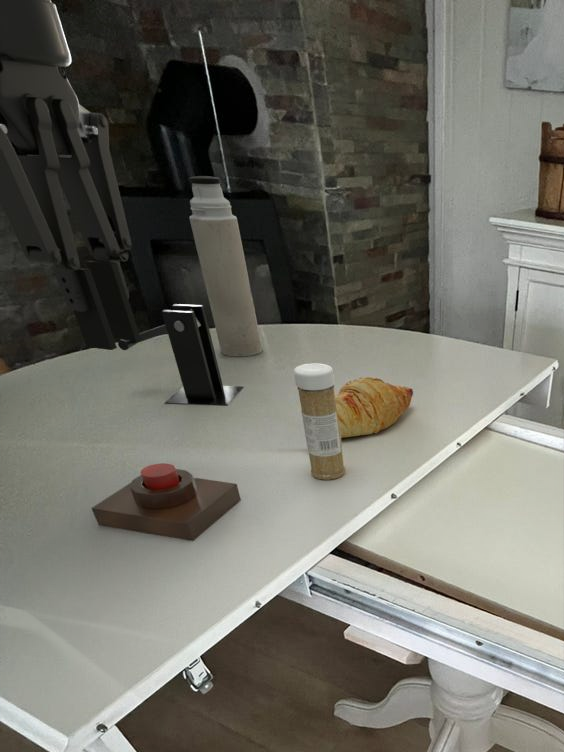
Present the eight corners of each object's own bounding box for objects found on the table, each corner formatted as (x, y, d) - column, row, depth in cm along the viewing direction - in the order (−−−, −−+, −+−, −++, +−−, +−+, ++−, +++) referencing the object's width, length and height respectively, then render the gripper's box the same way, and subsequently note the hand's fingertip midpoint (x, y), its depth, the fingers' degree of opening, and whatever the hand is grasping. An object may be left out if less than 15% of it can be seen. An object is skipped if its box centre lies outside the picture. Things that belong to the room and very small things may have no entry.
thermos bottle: (240, 343, 123) (203, 174, 105) (270, 349, 121) (238, 177, 103) (212, 352, 118) (168, 175, 99) (243, 358, 115) (204, 178, 97)
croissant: (330, 471, 87) (341, 431, 80) (284, 425, 87) (291, 381, 81) (423, 427, 100) (439, 389, 93) (382, 387, 100) (395, 346, 94)
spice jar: (344, 465, 81) (331, 361, 72) (346, 480, 77) (333, 372, 69) (310, 467, 80) (293, 362, 71) (310, 482, 76) (292, 374, 68)
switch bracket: (166, 410, 94) (136, 314, 85) (187, 391, 100) (161, 300, 91) (229, 412, 94) (206, 316, 85) (246, 393, 101) (226, 303, 92)
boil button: (138, 489, 66) (133, 474, 65) (159, 475, 69) (154, 461, 68) (167, 493, 65) (162, 478, 64) (186, 479, 68) (182, 465, 67)
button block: (98, 525, 67) (84, 493, 64) (154, 487, 74) (143, 456, 71) (193, 541, 65) (182, 508, 62) (241, 500, 72) (233, 469, 70)
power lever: (123, 354, 90) (113, 338, 89) (138, 346, 94) (128, 330, 92) (193, 331, 88) (183, 314, 86) (204, 323, 92) (195, 306, 90)
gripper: (-67, -39, 36) (89, 370, 51) (113, 6, 47) (196, 327, 63) (-167, -39, 37) (15, 361, 52) (34, 5, 48) (134, 321, 64)
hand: (114, 342), depth 57 cm, fingers open, 3 cm apart
